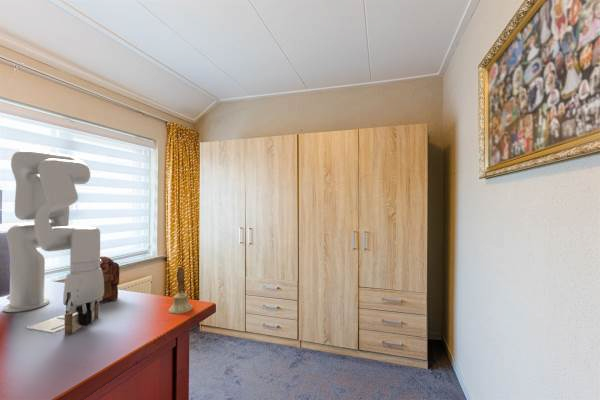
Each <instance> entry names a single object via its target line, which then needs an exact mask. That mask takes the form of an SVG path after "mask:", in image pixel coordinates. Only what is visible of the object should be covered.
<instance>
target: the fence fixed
mask: <svg viewBox="0 0 600 400" xmlns="http://www.w3.org/2000/svg"><path fill="white" fill-rule="evenodd" d="M99 306H100V304H99V302H98V303H97V304H96V305H95V307H94V320H96V319H99V315H100V314H99V309H100V308H99ZM66 309H67V305H65V314H67V313H72V314H74V313H76V311H66Z"/></svg>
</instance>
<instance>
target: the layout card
mask: <svg viewBox="0 0 600 400" xmlns="http://www.w3.org/2000/svg"><path fill="white" fill-rule="evenodd" d="M64 328H65V315H58V316H55V317H52V318H50V319H47V320H45V321H41V322H39V323H35V324H33V325H30V326H27V327H26V329H28V330H34V331H38V332H45V333H49V334H50V333H51V334H55V333H57V332H60V331H62V330H65V329H64Z"/></svg>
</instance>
